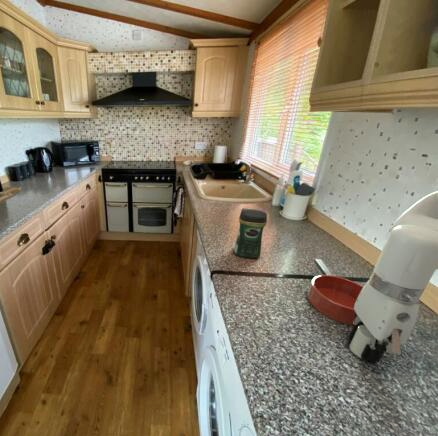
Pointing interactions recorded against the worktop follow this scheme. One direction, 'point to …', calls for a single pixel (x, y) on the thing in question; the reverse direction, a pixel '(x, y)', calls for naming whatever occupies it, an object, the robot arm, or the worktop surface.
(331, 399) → the worktop surface
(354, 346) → the pale grey cylinder
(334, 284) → the pan
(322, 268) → the pan handle
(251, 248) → the coffee jar
